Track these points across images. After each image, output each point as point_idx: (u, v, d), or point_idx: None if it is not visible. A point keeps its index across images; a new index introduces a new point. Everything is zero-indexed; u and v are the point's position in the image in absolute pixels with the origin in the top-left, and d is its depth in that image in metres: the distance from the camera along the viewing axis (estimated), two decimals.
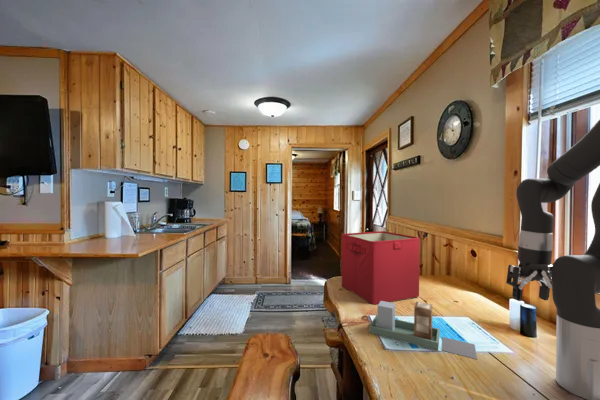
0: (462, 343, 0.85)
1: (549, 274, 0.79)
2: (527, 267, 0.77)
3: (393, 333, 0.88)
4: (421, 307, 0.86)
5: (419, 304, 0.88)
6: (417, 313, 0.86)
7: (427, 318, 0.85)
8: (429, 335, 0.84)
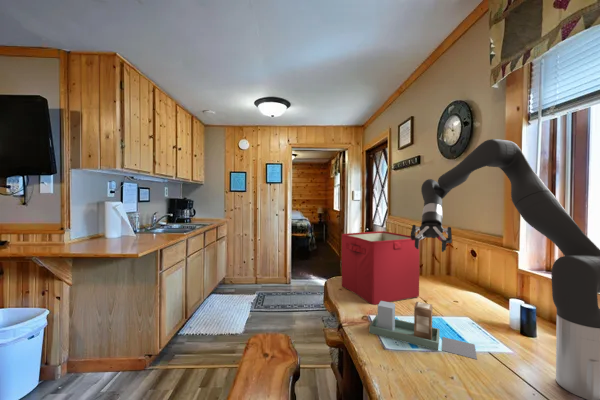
0: (462, 343, 0.85)
1: None
2: (422, 225, 1.06)
3: (393, 333, 0.88)
4: (421, 307, 0.86)
5: (419, 304, 0.88)
6: (417, 313, 0.86)
7: (427, 318, 0.85)
8: (429, 335, 0.84)
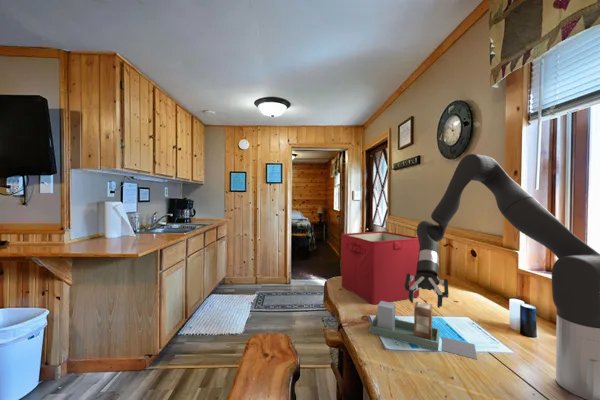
0: (462, 343, 0.85)
1: (444, 287, 0.94)
2: (417, 275, 0.99)
3: (393, 333, 0.88)
4: (421, 307, 0.86)
5: (419, 304, 0.88)
6: (417, 313, 0.86)
7: (427, 318, 0.85)
8: (429, 335, 0.84)
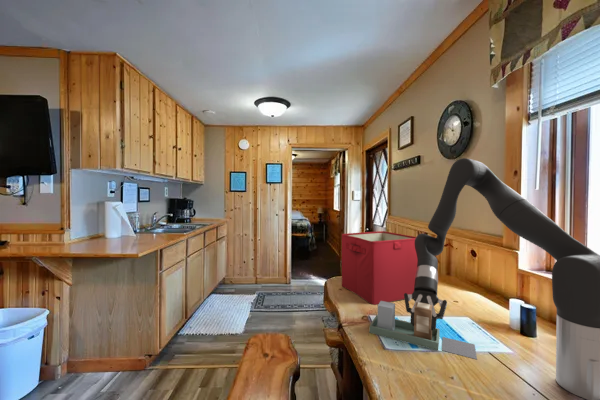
0: (462, 343, 0.85)
1: None
2: (415, 292, 0.94)
3: (393, 333, 0.88)
4: (421, 307, 0.86)
5: (419, 304, 0.88)
6: (417, 313, 0.86)
7: (427, 318, 0.85)
8: (429, 335, 0.84)
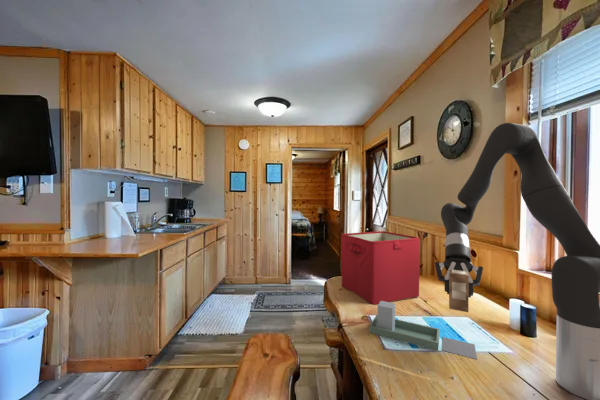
0: (462, 343, 0.85)
1: None
2: (446, 260, 0.88)
3: (393, 333, 0.88)
4: (457, 273, 0.81)
5: (453, 271, 0.83)
6: (453, 279, 0.81)
7: (464, 283, 0.79)
8: (466, 302, 0.79)
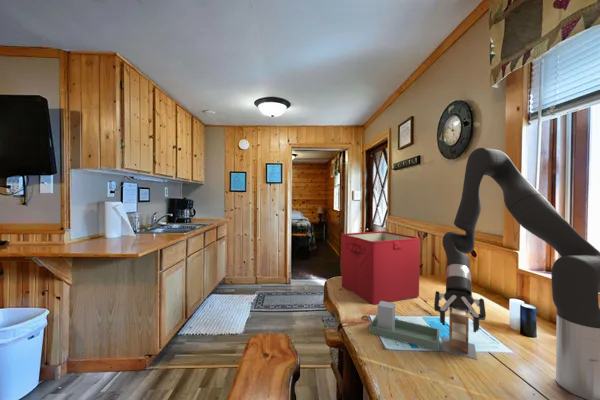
0: None
1: (479, 308, 0.83)
2: (448, 293, 0.89)
3: (393, 333, 0.88)
4: (457, 314, 0.81)
5: (454, 310, 0.83)
6: (453, 320, 0.81)
7: (464, 325, 0.80)
8: (466, 343, 0.79)
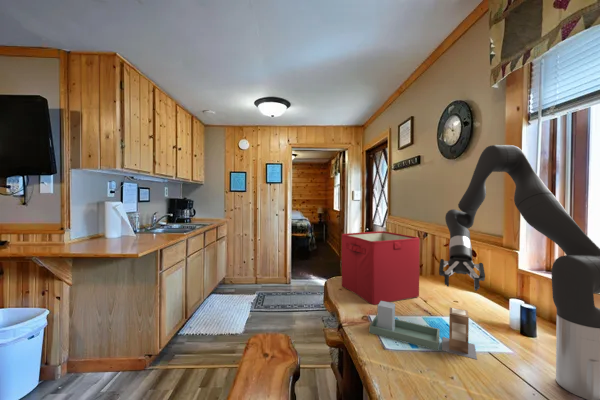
0: None
1: (479, 271, 0.95)
2: (451, 260, 1.00)
3: (393, 333, 0.88)
4: (457, 314, 0.81)
5: (454, 310, 0.83)
6: (453, 320, 0.81)
7: (464, 325, 0.80)
8: (466, 343, 0.79)
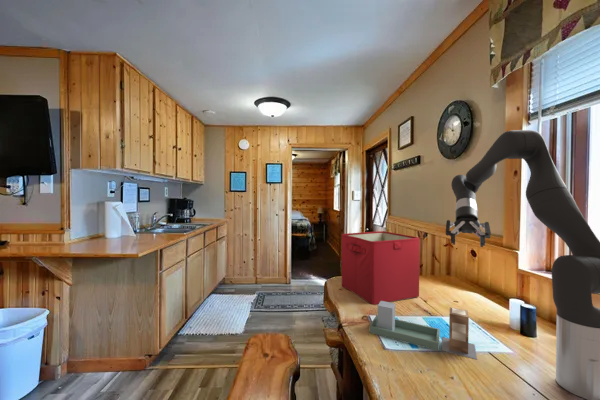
0: None
1: (485, 229, 0.98)
2: (457, 220, 1.03)
3: (393, 333, 0.88)
4: (457, 314, 0.81)
5: (454, 310, 0.83)
6: (453, 320, 0.81)
7: (464, 325, 0.80)
8: (466, 343, 0.79)
